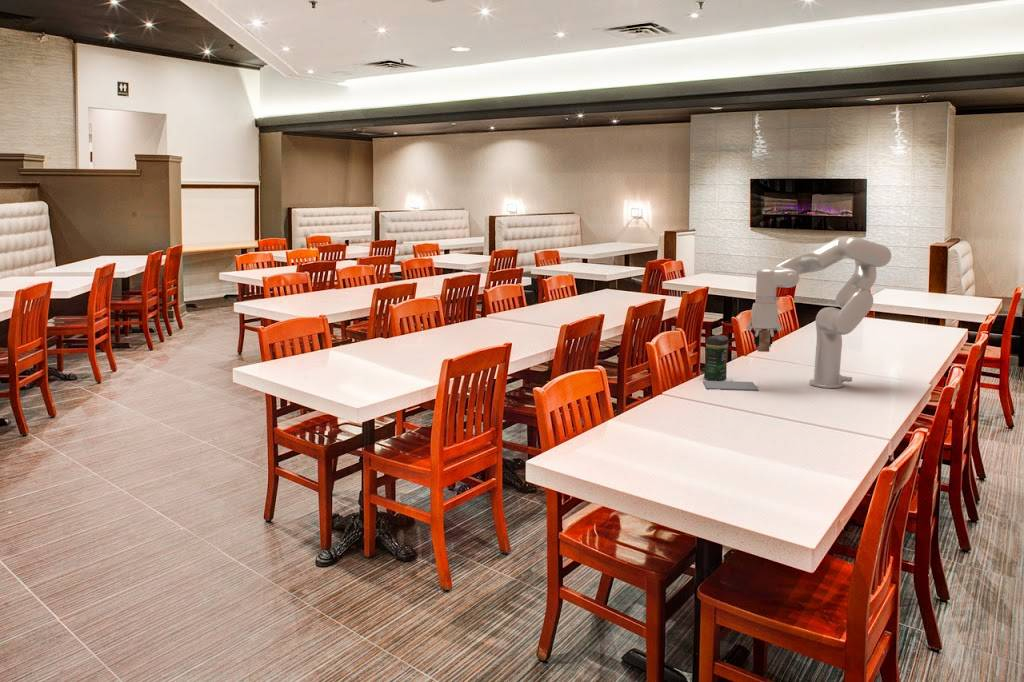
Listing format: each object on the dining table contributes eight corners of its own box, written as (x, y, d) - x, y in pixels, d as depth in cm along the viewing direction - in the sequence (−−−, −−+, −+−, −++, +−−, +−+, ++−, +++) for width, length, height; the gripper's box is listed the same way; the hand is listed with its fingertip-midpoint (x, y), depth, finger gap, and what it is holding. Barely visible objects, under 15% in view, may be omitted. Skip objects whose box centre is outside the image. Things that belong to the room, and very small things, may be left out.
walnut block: (767, 349, 302) (768, 329, 300) (769, 351, 298) (770, 331, 296) (756, 349, 302) (757, 329, 301) (758, 351, 298) (759, 331, 297)
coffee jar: (718, 382, 311) (720, 338, 308) (701, 379, 316) (703, 335, 313) (729, 378, 318) (731, 335, 315) (712, 375, 323) (714, 332, 320)
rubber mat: (752, 383, 309) (752, 381, 309) (758, 390, 296) (758, 389, 296) (702, 381, 312) (702, 380, 311) (706, 389, 299) (706, 387, 299)
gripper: (785, 299, 299) (782, 344, 302) (741, 299, 301) (739, 344, 304) (789, 301, 292) (787, 348, 295) (745, 301, 294) (743, 347, 297)
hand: (763, 345), depth 299 cm, fingers closed on walnut block, 4 cm apart
